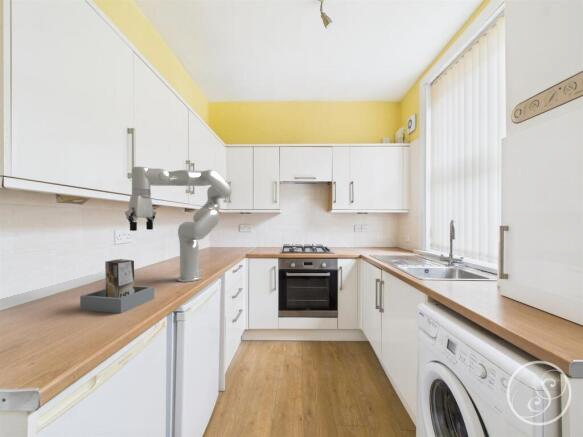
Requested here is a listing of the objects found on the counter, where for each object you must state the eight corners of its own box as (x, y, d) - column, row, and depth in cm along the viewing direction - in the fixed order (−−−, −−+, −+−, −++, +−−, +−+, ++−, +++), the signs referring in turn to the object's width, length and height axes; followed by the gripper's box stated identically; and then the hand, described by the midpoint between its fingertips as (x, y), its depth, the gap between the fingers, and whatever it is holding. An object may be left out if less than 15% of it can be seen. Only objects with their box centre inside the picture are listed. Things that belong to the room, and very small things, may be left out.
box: (118, 296, 108) (118, 284, 108) (154, 298, 104) (154, 286, 104) (80, 309, 92) (80, 296, 92) (121, 313, 89) (120, 299, 89)
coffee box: (135, 300, 99) (135, 260, 99) (118, 305, 94) (118, 263, 94) (121, 297, 103) (121, 258, 103) (104, 301, 98) (104, 261, 97)
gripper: (148, 195, 126) (148, 229, 126) (118, 192, 109) (119, 231, 109) (161, 195, 124) (161, 229, 125) (133, 191, 107) (133, 231, 108)
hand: (141, 230), depth 117 cm, fingers open, 9 cm apart
